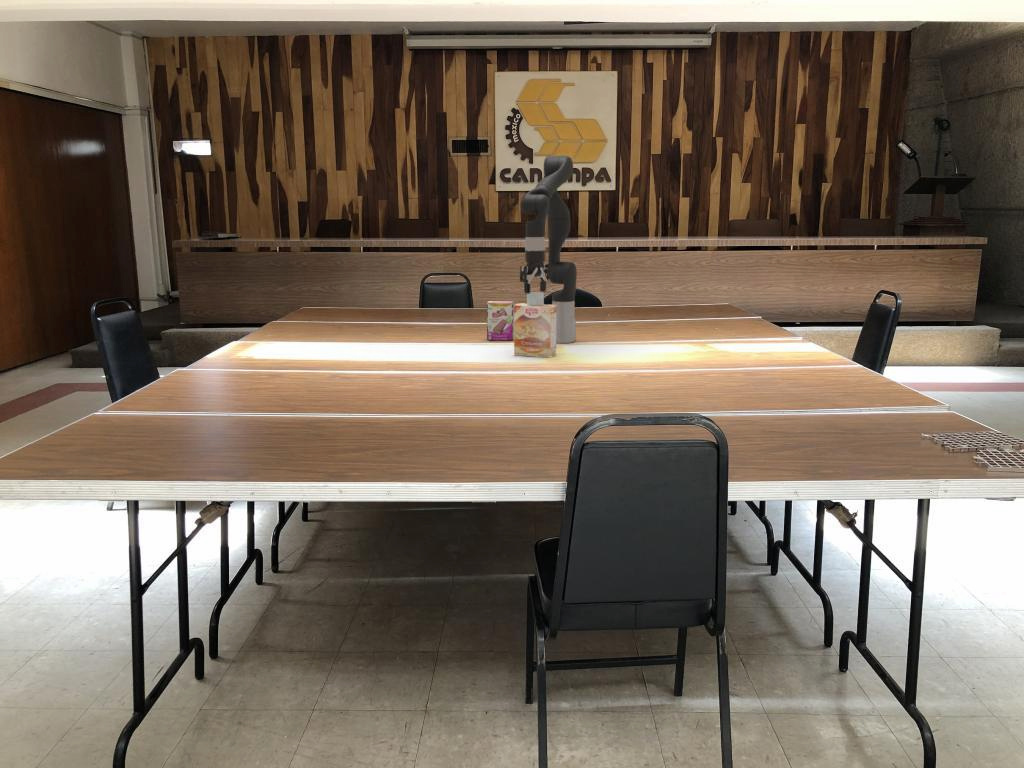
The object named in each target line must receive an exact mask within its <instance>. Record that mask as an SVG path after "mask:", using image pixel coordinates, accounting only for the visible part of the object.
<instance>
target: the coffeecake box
mask: <svg viewBox="0 0 1024 768" xmlns="http://www.w3.org/2000/svg"><path fill="white" fill-rule="evenodd" d="M513 350H514V352H513V353H514V354H515V355H514V354H513V355H514V356H520V355H527V356H526V357H534V356H540V357H539V358H547V357H551V356H552V357H554V356H556V355H557V343H556V305H552V304H545V303H544V305H536V306H535V305H527V302H526V303H524V302H522V303H516V304H515V303H514V340H513ZM552 357H551V358H552Z"/></svg>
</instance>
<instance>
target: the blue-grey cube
mask: <svg viewBox="0 0 1024 768" xmlns="http://www.w3.org/2000/svg"><path fill="white" fill-rule="evenodd" d="M544 293H545V292H542V291H539V292H538V291H532V292H531V291H530V294H526V303H527V305H535V306H536V305H544V304H545V303H544V300H545V299H544V298H545V296H544V295H545V294H544Z"/></svg>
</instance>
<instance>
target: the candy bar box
mask: <svg viewBox="0 0 1024 768" xmlns="http://www.w3.org/2000/svg"><path fill="white" fill-rule="evenodd" d="M514 305H515V301H506V300H505V301H504V300H503V301H500V300H499V301H498V300H497V301H496V300H494V301H493V300H490V301H489V300H488V301H487V302H486V334H487V335H486V340H513V339H514ZM513 341H514V340H513Z"/></svg>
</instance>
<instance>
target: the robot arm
mask: <svg viewBox="0 0 1024 768" xmlns="http://www.w3.org/2000/svg"><path fill="white" fill-rule="evenodd" d="M573 162H574V161H573V160H572V158H571V156H567V155H552V156H551V155H550V156H546V157H545V159H544V161H543V176H544V178H542V179H540V180H539V182H538V183H537V184H536V186H535V187H534V188H532V189H531V190H529V191H527V192H526V193H525V194H524V195H523V196H522V198H521V199H520V200H521V201H520V209H521V211H522V212H523V213H524V214H528V215H537V217H536V218H535V219H532V220H528V221H526V222H525V241H524V250H525V251H524V253H525V254H524V261H525V262H526V265H520V267H519V282H520V283H523V285H524V286H523V287H524V289H523V291H524V293H525V294H526V295H527V294H530V292H531V281H532V280H533V279H534V278H535V277H536V278H538V279H539V290H540V291H539V292H542V293H545V292H546V290H547V281H548V280H549V281H550V283H551V284H552V285H553V284H555V285H563V288H562V289H561V290H560V291H557V292H555V293H552V297H551V299H552V302H551V305H556V344H571V343H574V342H576V340H577V339H576V337H577V336H576V333H577V331H576V330H577V328H576V327H577V324H576V323H577V322H576V321H577V320H576V318H575V301H576V300H575V299H576V298H575V296H576V292H577V278H578V277H577V275H578V274H577V273H578V272H577V271H578V270H577V266H576V264H575V262H572V261H561V260H560V259H561V251H562V247H563V245H564V243H565V241H566V240H567V238H568V237H569V236H568V235H569V234H570V231H571V213H570V209H569V208H568V206H567V204H566V203H565V201H564V200H563V199H562V197H561V195H560V194H559V192H558V188H560V187H561V186H562V185H564V184H565V183H566V182H567V181H568V180H569V179H570V178H571V177H572V174H573V173H574V172H573V171H574V163H573ZM546 220H547V232H548V233H547V236H548V263H544V262H546V240H545V233H546V232H545V226H546V225H545V224H546Z"/></svg>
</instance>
